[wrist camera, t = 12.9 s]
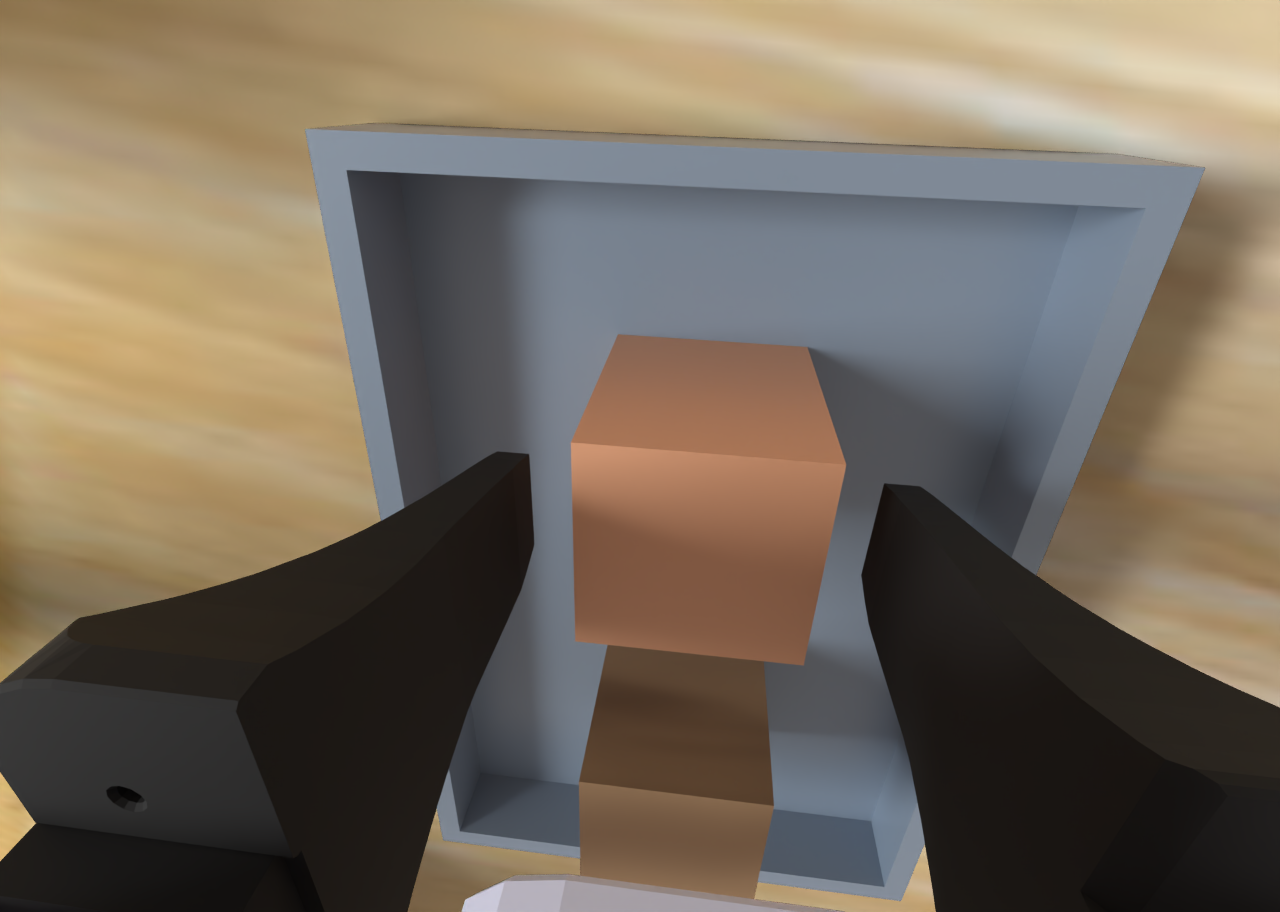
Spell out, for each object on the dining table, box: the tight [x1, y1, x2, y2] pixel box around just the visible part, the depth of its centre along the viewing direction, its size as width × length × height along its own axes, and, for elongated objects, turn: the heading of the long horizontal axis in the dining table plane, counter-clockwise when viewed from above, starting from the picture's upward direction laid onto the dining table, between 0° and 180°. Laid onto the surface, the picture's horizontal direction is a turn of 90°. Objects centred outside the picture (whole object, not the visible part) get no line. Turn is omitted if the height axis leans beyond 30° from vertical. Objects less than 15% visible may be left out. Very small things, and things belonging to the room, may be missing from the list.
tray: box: [305, 123, 1205, 901], centre depth 16 cm, size 20×14×2 cm
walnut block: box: [579, 645, 774, 899], centre depth 17 cm, size 4×4×5 cm
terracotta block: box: [571, 334, 846, 665], centre depth 13 cm, size 4×4×5 cm
